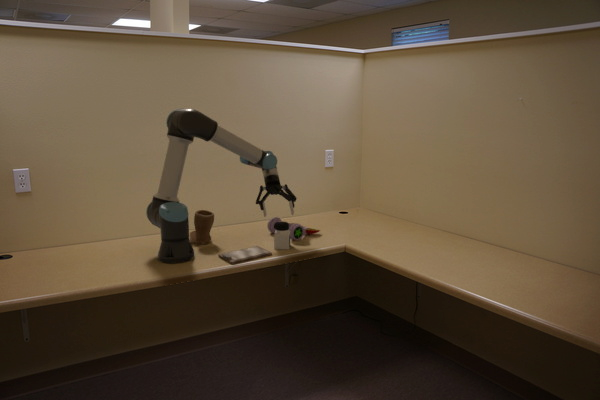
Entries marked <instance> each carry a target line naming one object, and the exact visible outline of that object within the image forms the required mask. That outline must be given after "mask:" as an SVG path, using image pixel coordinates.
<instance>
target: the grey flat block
mask: <svg viewBox="0 0 600 400" xmlns="http://www.w3.org/2000/svg"><path fill="white" fill-rule="evenodd" d="M217 255H218V258H220V259H221V260H223V261H225V262H227V263H229V264H230V265H236V264H239V263H243V262H244V263H245V262H248V261H252V260H256V259H261V258H265V257H269V256H272V255H273V252H271V251H269V250H268V249H265V248H262V246H261V247H260V246H259V245H254V246H251V247H246V248H241V249H237V250H233V251H228V252H224V253H219V254H217Z"/></svg>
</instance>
